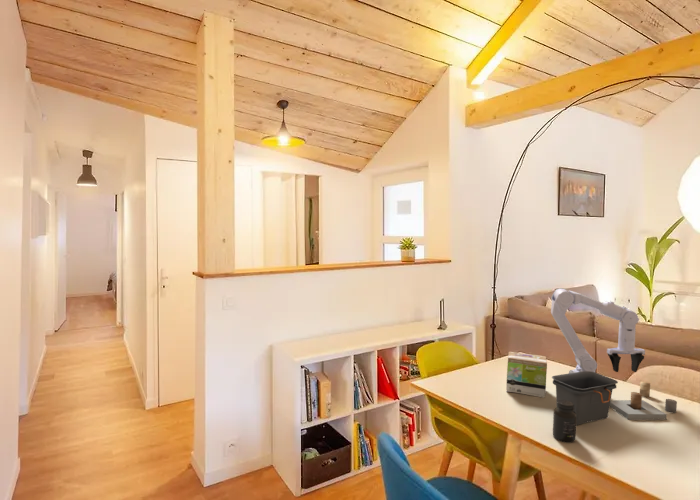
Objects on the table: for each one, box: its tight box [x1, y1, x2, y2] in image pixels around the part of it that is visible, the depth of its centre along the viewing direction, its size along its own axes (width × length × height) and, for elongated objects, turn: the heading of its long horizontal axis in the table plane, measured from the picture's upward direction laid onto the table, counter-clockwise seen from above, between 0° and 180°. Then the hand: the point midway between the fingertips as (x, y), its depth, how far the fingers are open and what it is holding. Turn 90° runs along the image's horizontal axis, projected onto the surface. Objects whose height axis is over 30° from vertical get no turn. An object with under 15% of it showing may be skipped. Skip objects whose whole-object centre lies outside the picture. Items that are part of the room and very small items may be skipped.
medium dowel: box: [639, 380, 651, 398], centre depth 175 cm, size 3×3×6 cm
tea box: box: [506, 351, 548, 398], centre depth 179 cm, size 15×10×15 cm, turn 68°
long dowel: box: [630, 391, 643, 410], centre depth 159 cm, size 3×3×7 cm
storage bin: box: [551, 371, 619, 426], centre depth 154 cm, size 21×16×14 cm
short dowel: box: [664, 398, 678, 414], centre depth 161 cm, size 3×3×4 cm
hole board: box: [609, 399, 668, 421], centre depth 160 cm, size 14×12×2 cm
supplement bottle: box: [552, 400, 577, 443], centre depth 140 cm, size 7×7×12 cm
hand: (624, 371), depth 175 cm, fingers open, 7 cm apart
